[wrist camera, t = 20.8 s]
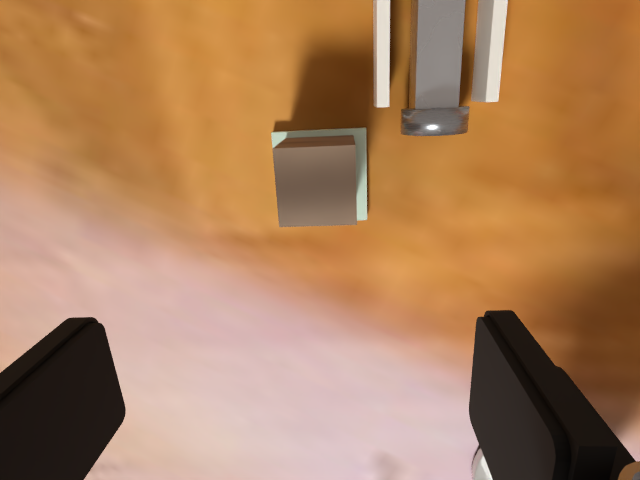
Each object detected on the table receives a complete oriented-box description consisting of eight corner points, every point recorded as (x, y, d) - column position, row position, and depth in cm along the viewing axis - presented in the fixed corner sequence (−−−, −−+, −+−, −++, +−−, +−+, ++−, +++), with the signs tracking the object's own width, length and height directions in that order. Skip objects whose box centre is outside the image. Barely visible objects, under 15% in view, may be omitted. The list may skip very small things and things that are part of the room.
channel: (482, 100, 29) (498, 101, 26) (373, 105, 30) (376, 107, 27) (497, -84, 26) (517, -107, 23) (372, -74, 26) (376, -96, 23)
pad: (366, 217, 33) (367, 220, 32) (280, 219, 33) (279, 222, 33) (365, 127, 31) (366, 128, 30) (273, 131, 31) (271, 132, 30)
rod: (457, 128, 30) (476, 133, 26) (397, 130, 30) (405, 136, 26) (475, -144, 25) (501, -191, 20) (401, -137, 25) (412, -183, 21)
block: (354, 201, 32) (356, 224, 26) (290, 203, 32) (279, 227, 26) (353, 134, 30) (355, 144, 24) (285, 137, 30) (272, 148, 25)
